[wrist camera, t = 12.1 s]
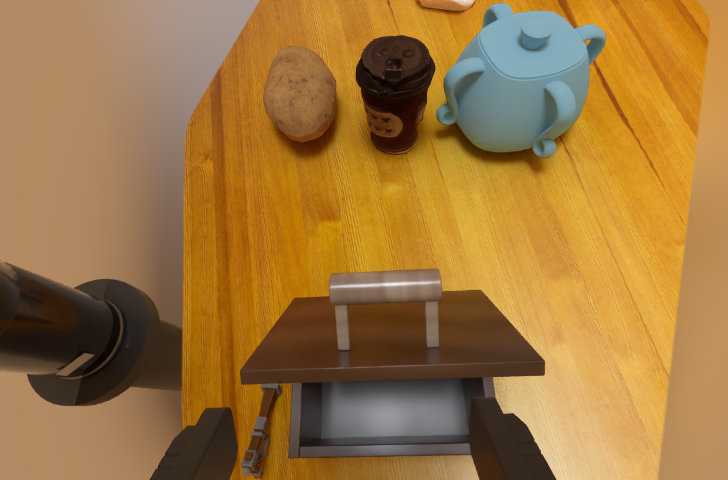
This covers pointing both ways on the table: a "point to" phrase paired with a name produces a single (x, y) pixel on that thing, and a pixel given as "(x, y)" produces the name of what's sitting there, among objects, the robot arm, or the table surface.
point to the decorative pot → (520, 80)
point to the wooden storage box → (383, 417)
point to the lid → (390, 334)
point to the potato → (300, 94)
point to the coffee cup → (395, 90)
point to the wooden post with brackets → (260, 433)
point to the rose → (448, 4)
